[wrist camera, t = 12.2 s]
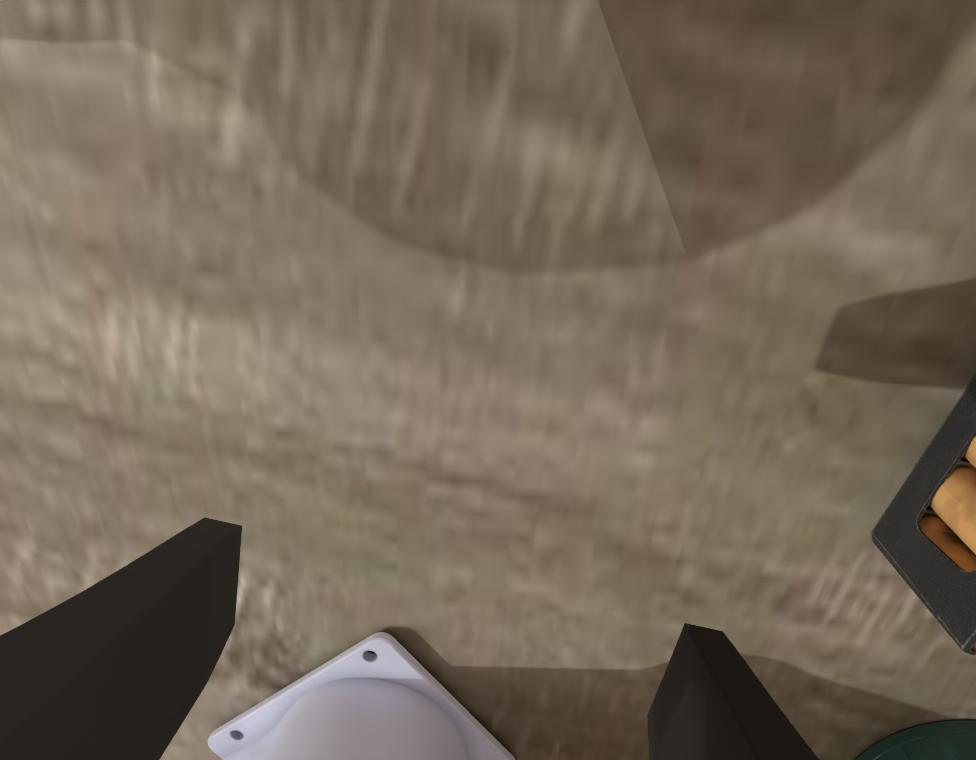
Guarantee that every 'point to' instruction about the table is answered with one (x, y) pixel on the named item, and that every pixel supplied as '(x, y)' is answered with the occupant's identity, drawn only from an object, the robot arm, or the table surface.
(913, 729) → the pen cup
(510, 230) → the table surface
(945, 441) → the ammunition clip
